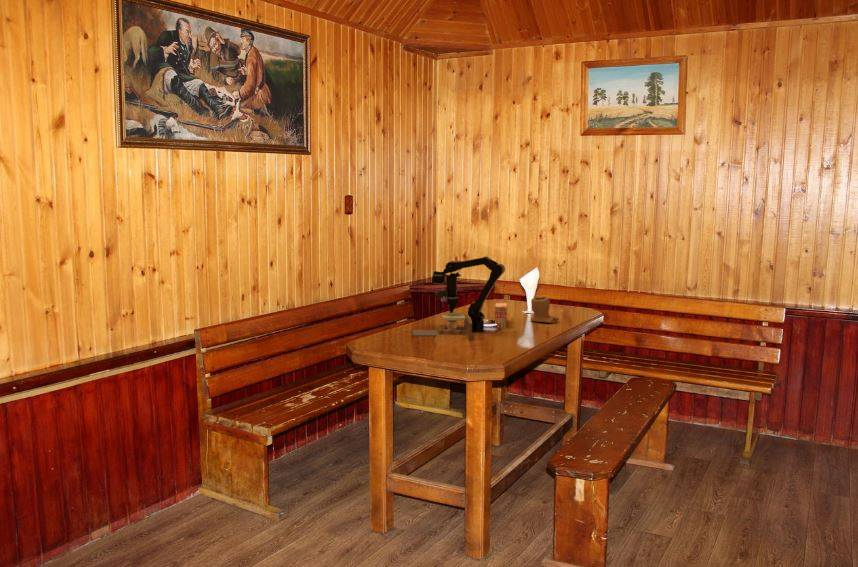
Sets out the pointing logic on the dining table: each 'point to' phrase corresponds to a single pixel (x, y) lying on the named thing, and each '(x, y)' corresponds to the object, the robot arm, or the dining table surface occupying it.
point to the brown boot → (542, 310)
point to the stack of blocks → (501, 315)
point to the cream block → (451, 324)
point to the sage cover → (454, 317)
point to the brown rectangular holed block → (458, 329)
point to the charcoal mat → (424, 333)
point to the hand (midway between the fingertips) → (451, 313)
